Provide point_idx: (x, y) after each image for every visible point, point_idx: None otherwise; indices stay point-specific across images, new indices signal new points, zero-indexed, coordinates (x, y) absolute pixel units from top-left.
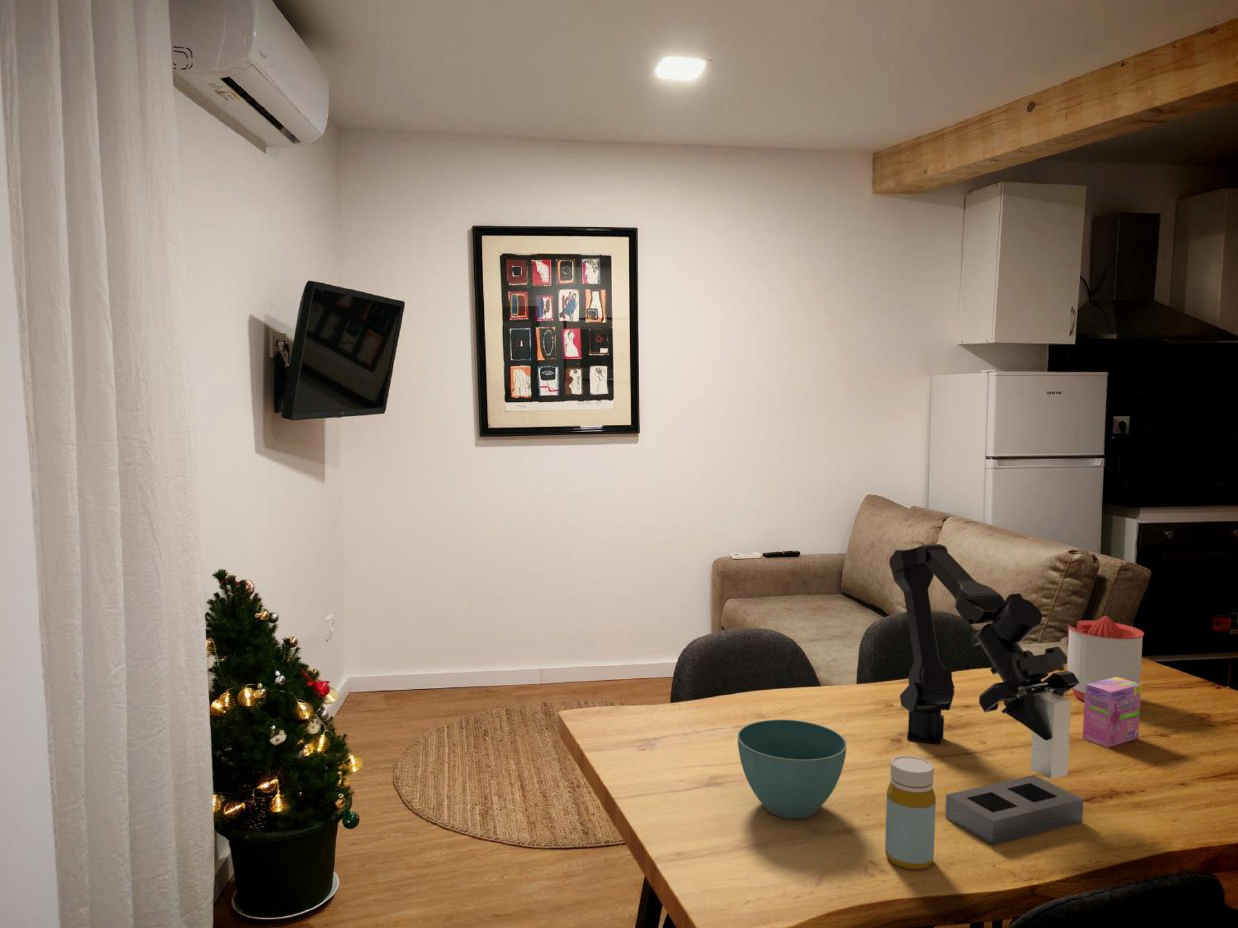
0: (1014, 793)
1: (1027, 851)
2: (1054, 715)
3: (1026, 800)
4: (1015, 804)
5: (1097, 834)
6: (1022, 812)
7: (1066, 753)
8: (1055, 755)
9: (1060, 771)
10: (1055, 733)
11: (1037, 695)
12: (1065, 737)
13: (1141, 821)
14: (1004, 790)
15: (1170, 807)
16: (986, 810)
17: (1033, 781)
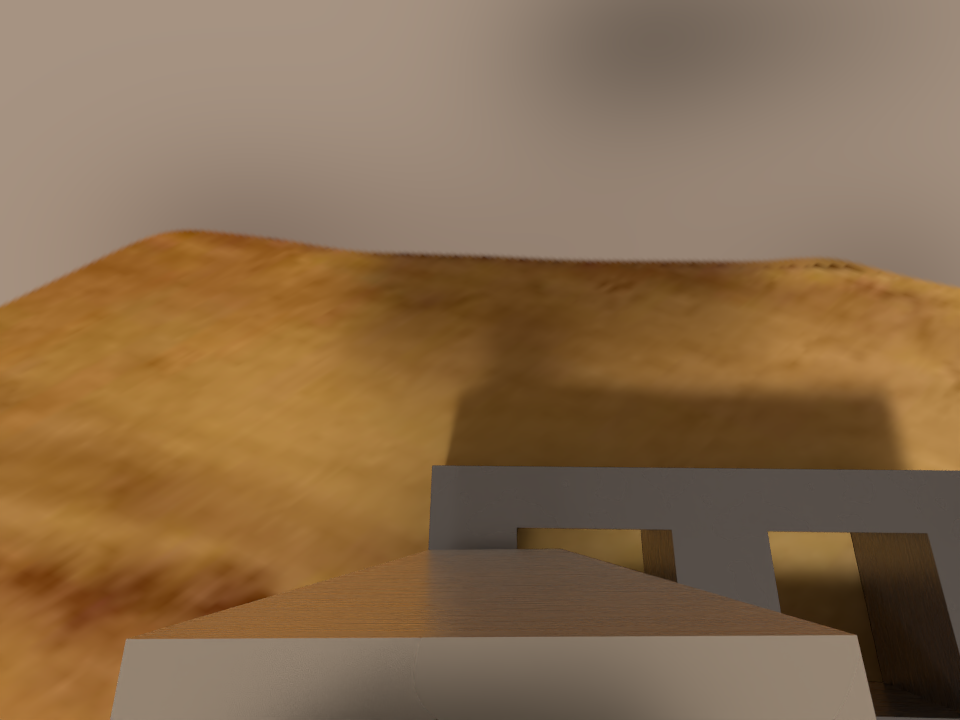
0: None
1: (788, 406)
2: (679, 591)
3: (688, 559)
4: (766, 551)
5: (473, 395)
6: (789, 479)
7: (428, 555)
8: (542, 555)
9: (485, 550)
10: (581, 566)
11: None
12: (432, 563)
13: (253, 398)
14: None
15: (58, 427)
16: (945, 561)
17: None
